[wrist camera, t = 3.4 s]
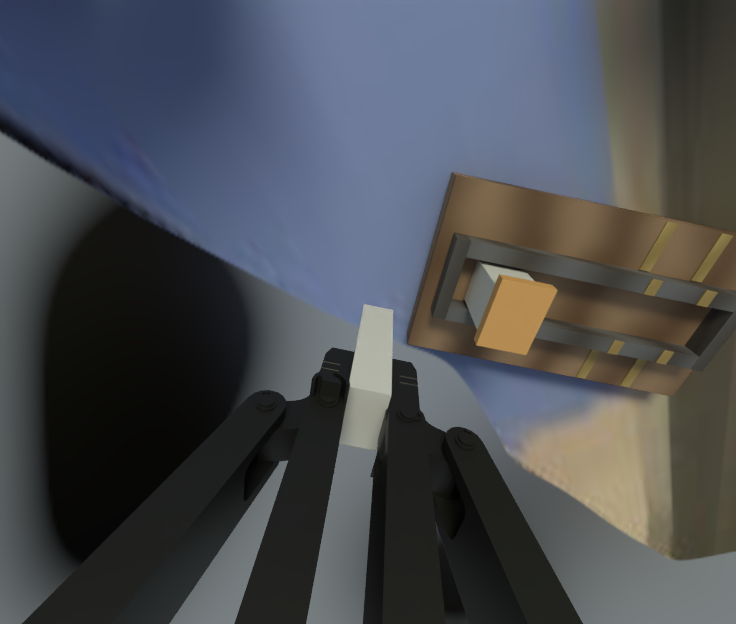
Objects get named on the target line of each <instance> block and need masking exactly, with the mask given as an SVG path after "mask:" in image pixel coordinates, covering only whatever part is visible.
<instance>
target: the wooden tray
mask: <svg viewBox="0 0 736 624" xmlns="http://www.w3.org/2000/svg"><path fill="white" fill-rule="evenodd" d="M477 260H482V261H487V262H491V263H496V264H501V265H506V266H511V267H516V268H521V269H524V270H525V271H526V272H527V273H528V275H529V276H530V277H531V278H532V279H533V280H534V281H535V282H540V283H545V284H550V285H553V286H554V287H555V288H556V289H557V290H558V291H557V293H556V295H555V297H554V299H553V301H552V303H551V305H550V307H549V309H548V311H547V313H546V315H545V317H544V320H543V322H542V324H541V326H540V328H539V330H538V332H537V334H536V336H535V338H534V340H533V342H532V344H531V346H530V348H529V350H528V352H527V354H526V355H523V354H518V353H513V352H508V351H503V350H497V349H492V348H487V347H482V346H477V345H476V343H475V341H474V337H475V334H476V332H477V329H476V326H475V324H474V321H473V319H472V317H471V314H470V312H469V309H468V307H467V304H466V302H465V300H464V297H465V294H466V292H467V289H468V286H469V283H470V280H471V277H472V275H473V272H474V269H475V266H476V263H477ZM735 329H736V232H731V231H726V230H722V229H717V228H712V227H708V226H703V225H698V224H693V223H689V222H684V221H679V220H675V219H670V218H665V217H660V216H656V215H651V214H646V213H642V212H637V211H632V210H628V209H623V208H618V207H613V206H609V205H604V204H599V203H595V202H590V201H585V200H580V199H576V198H571V197H566V196H562V195H557V194H552V193H547V192H543V191H538V190H533V189H529V188H524V187H519V186H514V185H510V184H505V183H500V182H496V181H491V180H486V179H481V178H477V177H472V176H467V175H463V174H458V173H453V172H452V174H451V178H450V181H449V185H448V189H447V192H446V196H445V199H444V203H443V206H442V210H441V213H440V217H439V220H438V224H437V228H436V231H435V235H434V238H433V242H432V245H431V249H430V252H429V256H428V259H427V263H426V266H425V270H424V274H423V277H422V281H421V284H420V288H419V291H418V295H417V298H416V302H415V305H414V309H413V313H412V316H411V320H410V323H409V327H408V330H407V342H408V344H410V345H415V346H420V347H425V348H430V349H435V350H440V351H445V352H450V353H455V354H460V355H465V356H470V357H475V358H480V359H485V360H490V361H496V362H501V363H506V364H511V365H516V366H521V367H526V368H531V369H536V370H541V371H546V372H551V373H556V374H561V375H566V376H571V377H576V378H581V379H586V380H592V381H597V382H602V383H607V384H612V385H617V386H622V387H627V388H632V389H637V390H642V391H647V392H652V393H657V394H662V395H667V396H673V394H674V393H675V392H676V391H677V389H678V388H679V387H680V385H681V384H682V383H683V382H684V380H685V379H686V378H687V376H688V375H689V374H690V373H691V371H692V370H697V371H703V370H704V368H705V367H706V366H707V365H708V363H709V362H710V361H711V359H712V358H713V357H714V356H715V354H716V353H717V352H718V351H719V349H720V348H721V347H722V346H723V344H724V343H725V342H726V341H727V339H728V338H729V337H730V336H731V334H732V333H733V332H734V331H735Z"/></svg>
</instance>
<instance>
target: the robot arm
mask: <svg viewBox="0 0 736 624" xmlns="http://www.w3.org/2000/svg"><path fill="white" fill-rule="evenodd" d="M392 342H393V310H390V309H385V308H380V307H376V306H371V305H366V304H364V308H363V312H362V317H361V322H360V327H359V332H358V337H357V342H356V346H355V351H354V352H352V351H347V350H342V349H337V348H332V349H330V350H329V351H328V352H327V353H326V354H325V357H324V360H323V364H322V367H321V370H320V372H318V373H316V374H315V375H314V376H313V378H312V383H311V390H310V395H309V396H308V397H306V398H305V399H301V400H296V401H286V400H285V398H284V397H283V396H282V395H281V394H279V393H277V392H274V391H270V390H268V391H267V390H266V391H259V392H256V393H254V394H252V395H251V396H249V397H248V398H247V399H246V400H245V401H244V402H243V403H242V404H241V405H240V406H239V407H238V408H237V409H236V410H235V411H234V412H233V413H232V414H231V415H230V416H229V417H228V418H227V419H226V420H225V421H224V422H223V423H222V424H221V425H220V426H219V427H218V428H217V429H216V430H215V431H214V432H213V433H212V434H211V435H210V436H209V437H208V438H207V439H206V440H205V441H204V442H203V443H202V444H201V445H200V446H199V447H198V448H197V449H196V450H195V451H194V452H193V453H192V454H191V455H190V456H189V457H188V458H187V459H186V460H185V461H184V462H183V463H182V464H181V465H180V466H179V467H178V468H177V469H176V470H175V471H174V472H173V473H172V475H170V476H169V477H168V478H167V479H166V480H165V481H164V482H163V483H162V484H161V485H160V486H159V487H158V488H157V489H156V490H155V491H154V492H153V493H152V494H151V496H149V497H148V498H147V499H146V500H145V501H144V503H142V504H141V505H140V506H139V507H138V508H137V509H136V510H135V511H134V512H133V513H132V514H131V515H130V516H129V517H128V518H127V519H126V520H125V521H124V522H123V524H121V525H120V526H119V527H118V528H117V529H116V530H115V531H114V532H113V533H112V534H111V535H110V536H109V537H108V538H107V539H106V540H105V541H104V542H103V543H102V544H101V545H100V546H99V547H98V548H97V549H96V550H95V551H94V552H93V553H92V554H91V555H90V556H89V558H87V559H86V560H85V561H84V562H83V563H82V564H81V565H80V566H79V567H78V568H77V569H76V570H75V571H74V572H73V573H72V574H71V575H70V576H69V578H67V579H66V580H65V582H63V584H61V585H60V586H59V587H58V588H57V589H56V590H55V591H54V593H52V594H51V595H50V596H49V597H48V598H47V599H46V600H45V601H44V602H43V603H42V604H41V605H40V607H38V609H36V610H35V611H34V612H33V613H32V614H31V615H30V616H29V617H28V618H27V619H26V620H25V621H24V622H23V623H22V624H169V623H170V622H171V620H172V619H173V617H174V616H175V614H176V613H177V612H178V610H179V609H180V607H181V605H182V604H183V603H184V601H185V600H186V598H187V597H188V595H189V594H190V592H191V591H192V590H193V588H194V587H195V585H196V584H197V582H198V581H199V579H200V578H201V576H202V575H203V573H204V572H205V571H206V569H207V568H208V566H209V565H210V563H211V562H212V560H213V559H214V557H215V556H216V555H217V553H218V551H219V550H220V549H221V547H222V546H223V544H224V543H225V541H226V540H227V539H228V537H229V536H230V534H231V533H232V531H233V529H234V528H235V527H236V525H237V524H238V522H239V521H240V519H241V518H242V517H243V515H244V514H245V512H246V511H247V509H248V508H249V506H250V505H251V503H252V502H253V501H254V499H255V498H256V496H257V494H258V493H259V492H260V490H261V489H262V487H263V486H264V484H265V483H266V482H267V480H268V479H269V477H270V476H271V474H272V473H273V471H274V470H275V468H276V467H277V465H278V463H279V461H286V460H288V463H287V467H286V470H285V473H284V476H283V479H282V482H281V485H280V488H279V491H278V494H277V497H276V500H275V503H274V506H273V509H272V512H271V515H270V518H269V521H268V525H267V527H266V530H265V533H264V536H263V539H262V542H261V545H260V549H259V551H258V554H257V558H256V560H255V564H254V566H253V569H252V572H251V575H250V579H249V582H248V585H247V588H246V591H245V594H244V597H243V600H242V603H241V606H240V609H239V612H238V615H237V618H236V621H235V624H306V620H307V615H308V609H309V604H310V599H311V593H312V587H313V582H314V577H315V571H316V566H317V561H318V555H319V550H320V544H321V539H322V533H323V528H324V523H325V517H326V511H327V506H328V500H329V495H330V490H331V484H332V479H333V474H334V468H335V462H336V457H337V452H338V446H339V444H344V445H349V446H354V447H359V448H364V449H369V450H374V451H376V448H377V444H378V449H377V456H376V459H375V463H374V466H373V469H372V473H371V476H370V477H373V489H372V503H371V517H370V531H369V545H368V560H367V574H366V587H365V601H364V616H363V624H445V614H444V604H443V594H442V584H441V574H440V563H439V553H438V543H437V533H436V524H437V527H438V530H439V533H440V536H441V539H442V542H443V545H444V548H445V551H446V554H447V557H448V560H449V564H450V566H451V569H452V573H453V575H454V579H455V582H456V585H457V588H458V591H459V594H460V597H461V600H462V603H463V606H464V609H465V612H466V615H467V618H468V621H469V624H583V623H582V621H581V620H580V618H579V616H578V614H577V612H576V611H575V609H574V607H573V605H572V603H571V601H570V599H569V598H568V596H567V594H566V592H565V590H564V589H563V587H562V585H561V583H560V582H559V580H558V578H557V576H556V574H555V572H554V570H553V569H552V567H551V565H550V563H549V561H548V560H547V558H546V556H545V554H544V552H543V551H542V549H541V547H540V545H539V543H538V541H537V540H536V538H535V536H534V534H533V532H532V531H531V529H530V527H529V525H528V523H527V522H526V520H525V518H524V516H523V514H522V512H521V511H520V509H519V507H518V505H517V503H516V502H515V500H514V498H513V496H512V494H511V493H510V491H509V489H508V487H507V485H506V484H505V482H504V480H503V478H502V476H501V475H500V473H499V471H498V469H497V467H496V466H495V464H494V462H493V460H492V458H491V456H490V455H489V453H488V451H487V449H486V447H485V445H484V444H483V442H482V441H481V439H480V438H479V437H478V436H477V435H476V434H475V433H473V432H472V431H470V430H468V429H465V428H461V427H453V428H451V429H449V430H448V431H447V433H446V432H444V431H442V430H440V429H437V428H435V427H433V426H432V425H430V424H429V423H428V422H427V421H426V420H425V417H424V414H423V413H422V412H421V411H420V408H419V395H418V386H417V385H418V383H417V372H416V369H415V368H414V366H413V365H412V363H411V362H406V361H401V360H396V359H392ZM435 521H436V523H435Z"/></svg>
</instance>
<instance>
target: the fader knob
mask: <svg viewBox="0 0 736 624" xmlns="http://www.w3.org/2000/svg"><path fill="white" fill-rule="evenodd" d="M557 291H558V290H557V289H556V288H555V287H554V286H553V285H550V284H545V283H540V282H535V281H534V280H533V279H532V278H531V277H530V276H529V275H528V273H527V272H526V271H525V270H524V269H521V268H516V267H511V266H506V265H501V264H496V263H491V262H487V261H482V260H477V263H476V266H475V269H474V272H473V275H472V277H471V280H470V283H469V286H468V289H467V292H466V294H465V297H464V300H465V302H466V304H467V307H468V309H469V312H470V314H471V317H472V319H473V321H474V324H475V326H476V329H477V332H476V334H475V337H474V341H475V343H476V345H477V346H482V347H487V348H492V349H497V350H503V351H508V352H513V353H518V354H523V355H526V354H527V352H528V350H529V348H530V346H531V344H532V342H533V340H534V338H535V336H536V334H537V332H538V330H539V328H540V326H541V324H542V322H543V320H544V317H545V315H546V313H547V311H548V309H549V307H550V305H551V303H552V301H553V299H554V297H555V295H556V293H557Z"/></svg>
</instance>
